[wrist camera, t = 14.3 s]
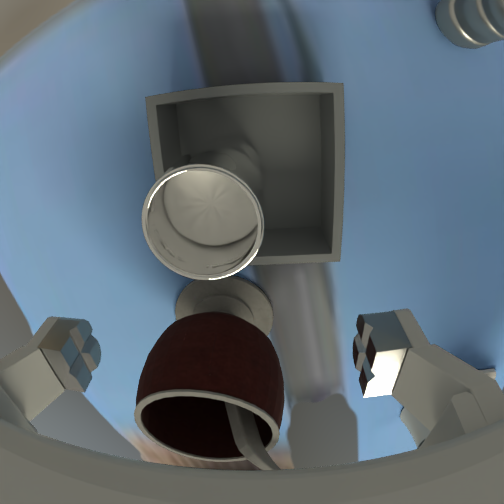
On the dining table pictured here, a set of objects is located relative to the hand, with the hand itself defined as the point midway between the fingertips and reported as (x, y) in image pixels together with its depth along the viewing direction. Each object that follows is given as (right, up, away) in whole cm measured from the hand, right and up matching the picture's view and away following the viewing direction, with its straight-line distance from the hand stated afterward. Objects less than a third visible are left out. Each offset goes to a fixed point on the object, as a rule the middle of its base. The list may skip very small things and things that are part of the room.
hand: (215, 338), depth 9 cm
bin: (+1, +11, +21) cm, 24 cm away
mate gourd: (-2, -6, +30) cm, 31 cm away
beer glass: (-1, +11, +21) cm, 23 cm away
